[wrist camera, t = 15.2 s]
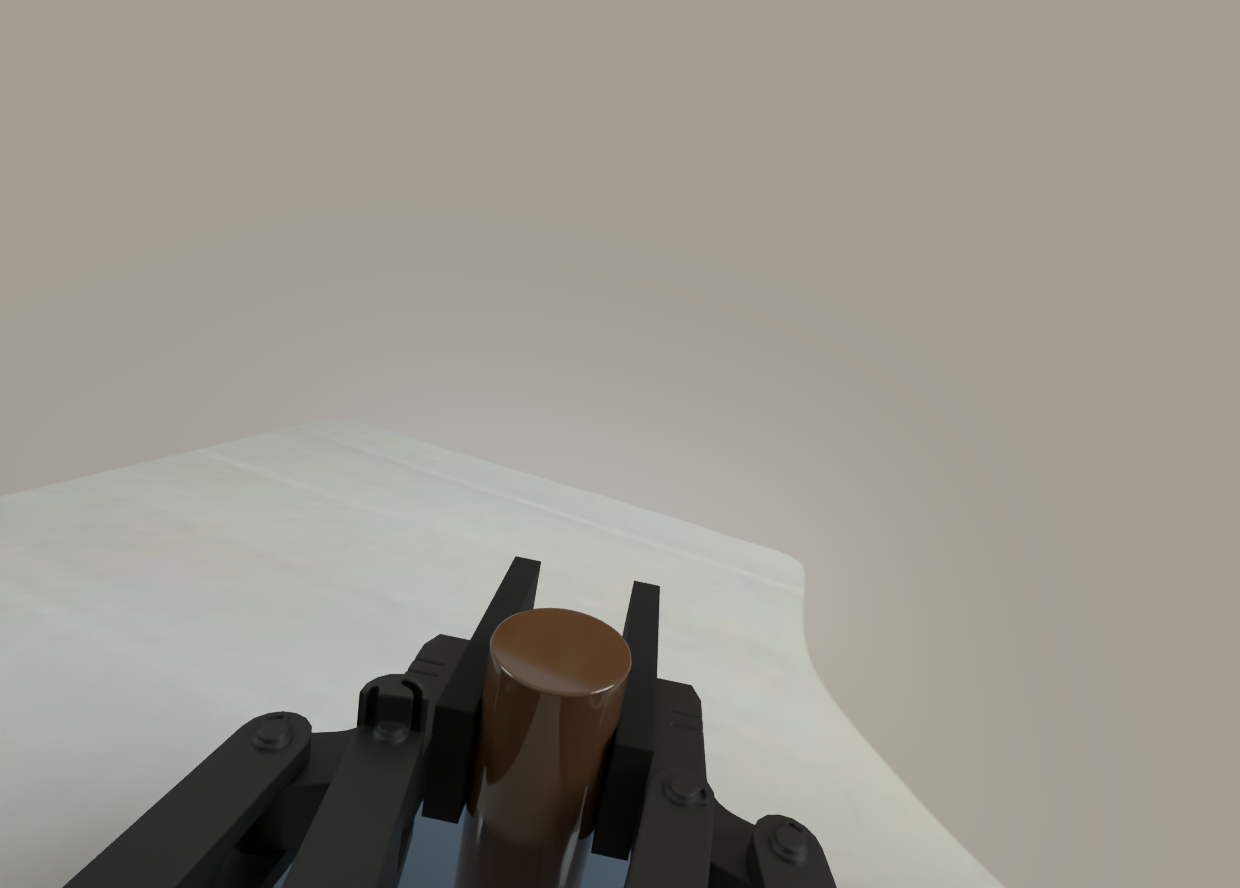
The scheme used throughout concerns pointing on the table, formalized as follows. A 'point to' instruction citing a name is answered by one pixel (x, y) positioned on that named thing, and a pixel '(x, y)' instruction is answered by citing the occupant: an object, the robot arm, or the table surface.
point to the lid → (533, 763)
